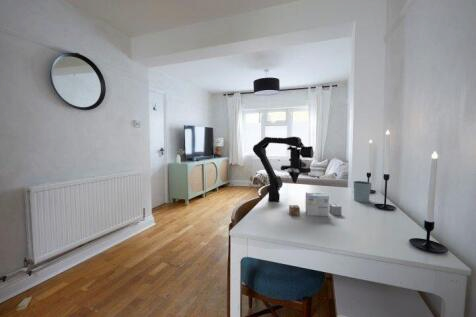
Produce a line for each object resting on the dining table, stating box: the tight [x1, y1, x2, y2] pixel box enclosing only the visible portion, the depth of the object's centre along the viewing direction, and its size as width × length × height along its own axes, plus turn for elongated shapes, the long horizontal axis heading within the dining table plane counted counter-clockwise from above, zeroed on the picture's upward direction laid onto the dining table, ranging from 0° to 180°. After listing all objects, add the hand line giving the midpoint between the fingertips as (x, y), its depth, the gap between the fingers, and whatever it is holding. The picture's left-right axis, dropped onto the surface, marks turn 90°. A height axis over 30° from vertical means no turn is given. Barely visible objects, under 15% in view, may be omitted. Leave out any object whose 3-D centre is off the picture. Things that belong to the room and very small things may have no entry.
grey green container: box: [353, 180, 373, 203], centre depth 139 cm, size 10×10×12 cm
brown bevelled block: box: [288, 204, 301, 217], centre depth 113 cm, size 4×4×5 cm
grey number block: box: [329, 203, 342, 216], centre depth 114 cm, size 4×4×5 cm
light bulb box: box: [305, 192, 330, 217], centre depth 114 cm, size 11×7×11 cm, turn 84°
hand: (294, 183), depth 131 cm, fingers closed
